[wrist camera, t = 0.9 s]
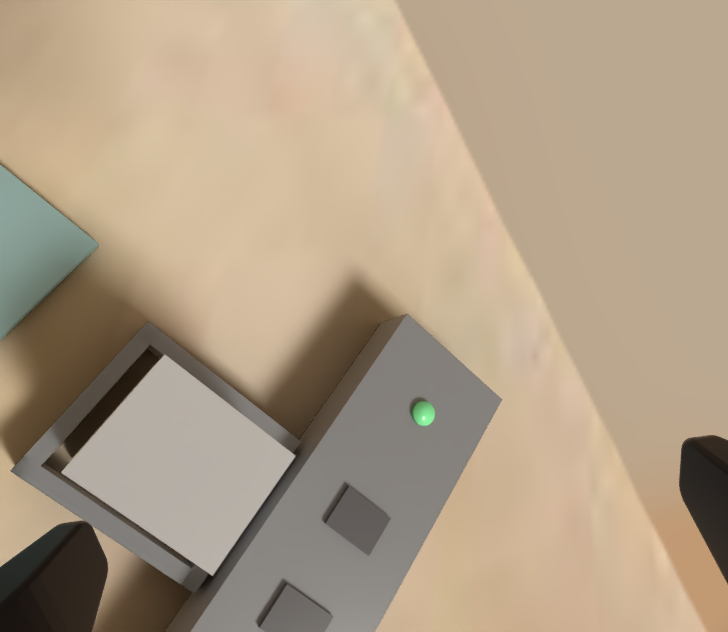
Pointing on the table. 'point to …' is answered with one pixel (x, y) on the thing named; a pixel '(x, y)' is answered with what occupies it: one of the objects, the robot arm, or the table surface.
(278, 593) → the grey angular piece
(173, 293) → the table surface
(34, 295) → the teal square plate
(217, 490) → the light grey rectangular block
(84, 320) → the table surface
